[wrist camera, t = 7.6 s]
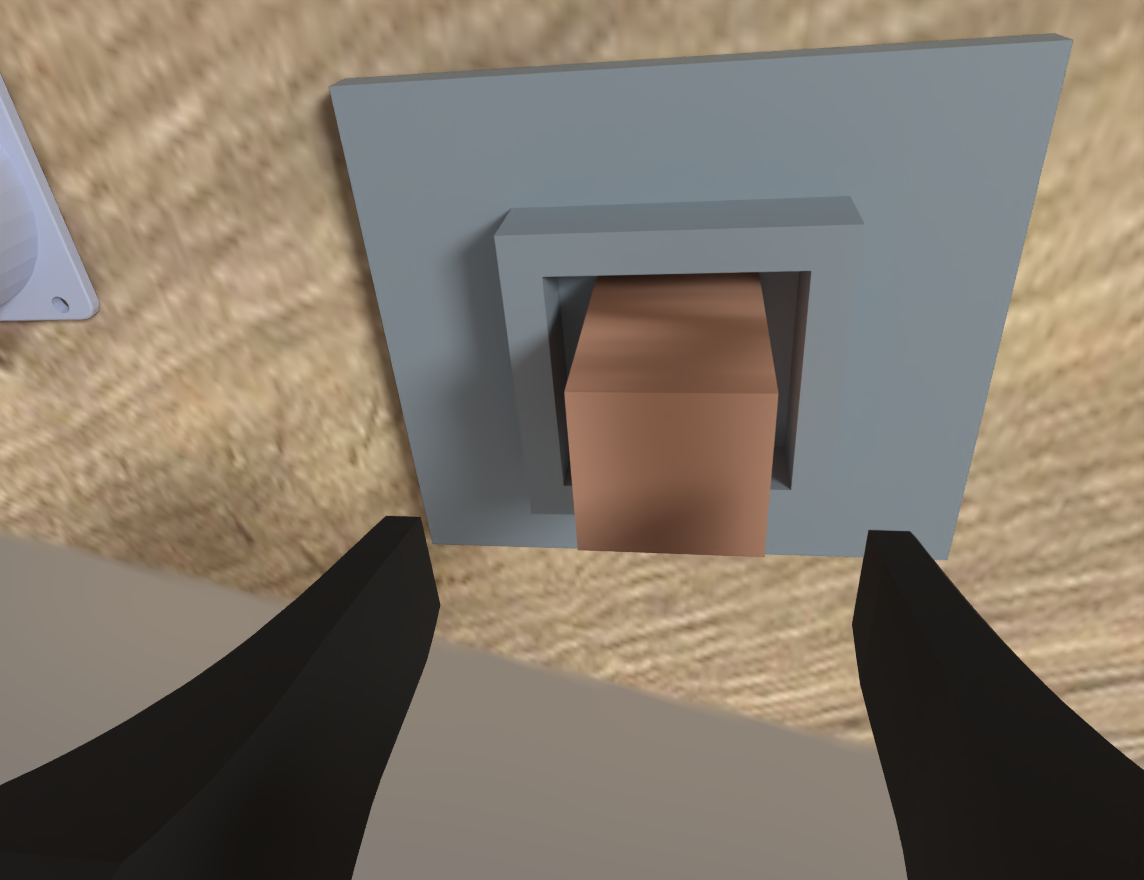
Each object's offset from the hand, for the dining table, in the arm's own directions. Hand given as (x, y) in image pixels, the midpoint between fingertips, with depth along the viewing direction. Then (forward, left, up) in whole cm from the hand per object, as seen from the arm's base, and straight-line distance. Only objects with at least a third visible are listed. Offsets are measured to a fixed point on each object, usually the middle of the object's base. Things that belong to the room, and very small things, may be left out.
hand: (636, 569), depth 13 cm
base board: (0, -1, -10) cm, 10 cm away
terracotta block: (0, -1, -9) cm, 9 cm away
